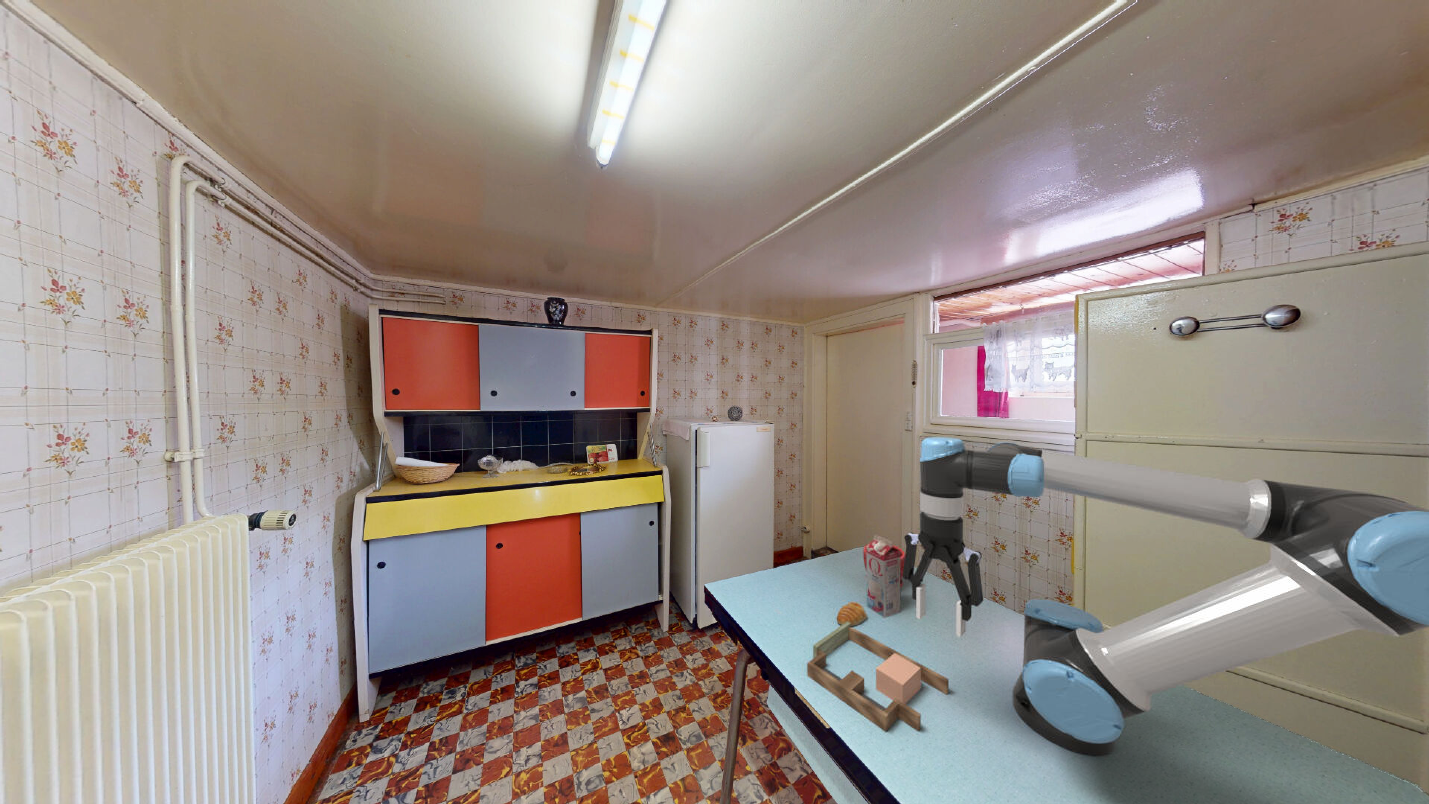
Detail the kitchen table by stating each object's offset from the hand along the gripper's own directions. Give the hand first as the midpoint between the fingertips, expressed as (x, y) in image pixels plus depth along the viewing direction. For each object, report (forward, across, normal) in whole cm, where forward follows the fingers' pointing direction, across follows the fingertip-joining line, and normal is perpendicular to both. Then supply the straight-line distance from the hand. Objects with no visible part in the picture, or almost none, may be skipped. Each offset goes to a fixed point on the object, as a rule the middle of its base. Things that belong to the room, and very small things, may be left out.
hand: (940, 624), depth 78 cm
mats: (+19, +14, +10) cm, 26 cm away
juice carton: (+19, +26, -27) cm, 42 cm away
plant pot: (+19, +33, -41) cm, 56 cm away
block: (+19, +8, 0) cm, 21 cm away
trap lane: (+19, +13, +2) cm, 23 cm away
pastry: (+20, +29, -15) cm, 38 cm away
